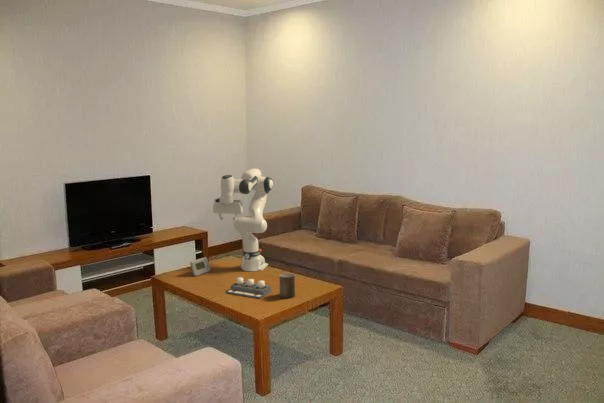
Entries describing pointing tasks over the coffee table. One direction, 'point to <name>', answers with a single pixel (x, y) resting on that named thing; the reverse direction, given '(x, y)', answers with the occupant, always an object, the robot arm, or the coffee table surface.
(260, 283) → the button
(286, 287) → the pillar candle
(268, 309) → the coffee table surface
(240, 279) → the button
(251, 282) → the button
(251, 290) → the board
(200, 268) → the digital clock
